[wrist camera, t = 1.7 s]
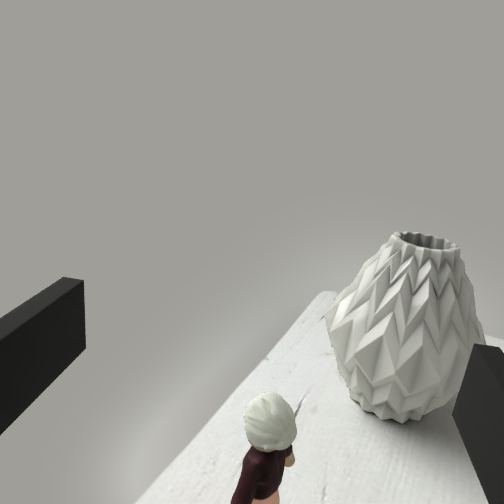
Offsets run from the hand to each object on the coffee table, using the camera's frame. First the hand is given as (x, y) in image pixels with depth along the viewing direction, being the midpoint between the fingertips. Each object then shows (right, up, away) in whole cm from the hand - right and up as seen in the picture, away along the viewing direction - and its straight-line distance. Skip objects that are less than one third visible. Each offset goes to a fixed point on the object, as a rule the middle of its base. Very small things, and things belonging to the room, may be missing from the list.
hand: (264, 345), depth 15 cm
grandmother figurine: (-1, -18, +16) cm, 24 cm away
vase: (+14, -13, +34) cm, 39 cm away
